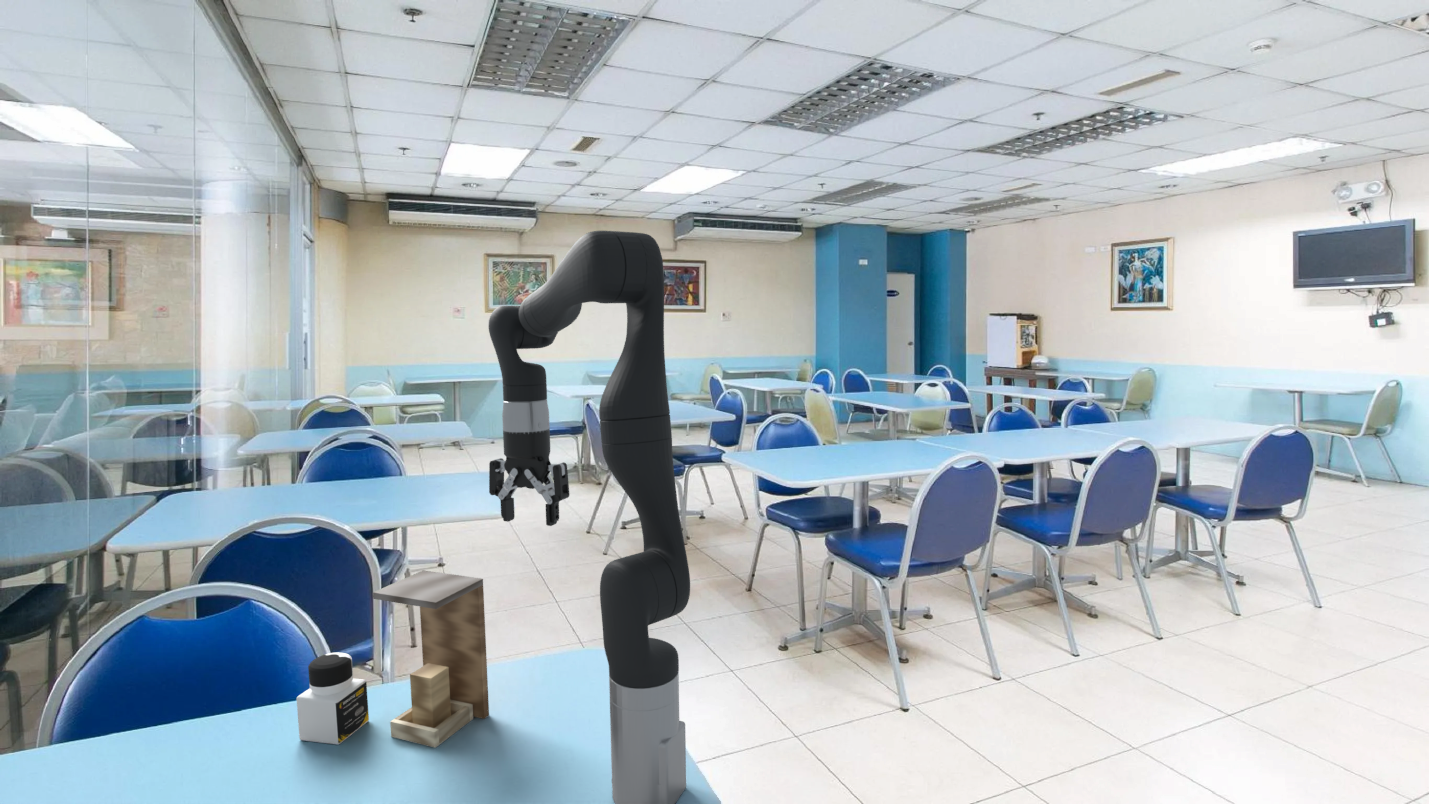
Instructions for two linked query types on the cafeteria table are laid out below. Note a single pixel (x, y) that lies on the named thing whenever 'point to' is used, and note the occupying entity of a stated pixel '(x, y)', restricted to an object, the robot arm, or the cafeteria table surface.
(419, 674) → the peg
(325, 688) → the medicine bottle
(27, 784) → the cafeteria table surface
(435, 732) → the awning socket
